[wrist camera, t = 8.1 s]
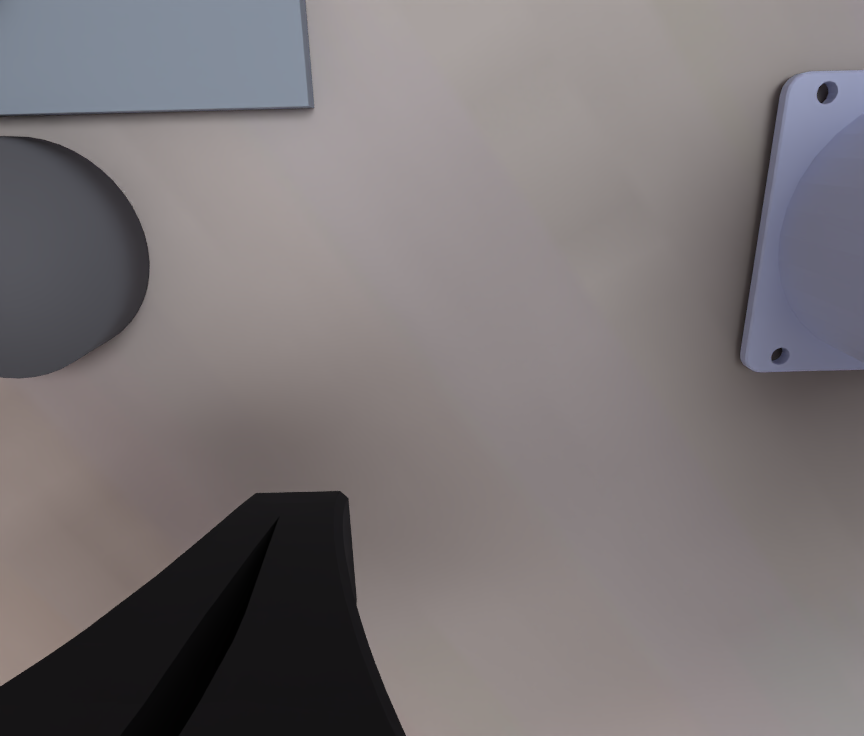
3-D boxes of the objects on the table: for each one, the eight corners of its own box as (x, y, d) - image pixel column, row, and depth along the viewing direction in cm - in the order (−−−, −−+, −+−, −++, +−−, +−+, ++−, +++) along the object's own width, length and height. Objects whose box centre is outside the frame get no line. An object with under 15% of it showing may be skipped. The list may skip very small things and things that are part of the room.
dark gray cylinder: (126, 133, 16) (83, 132, 14) (165, 349, 18) (132, 375, 16) (-100, 139, 16) (-177, 139, 14) (-36, 354, 18) (-94, 381, 16)
